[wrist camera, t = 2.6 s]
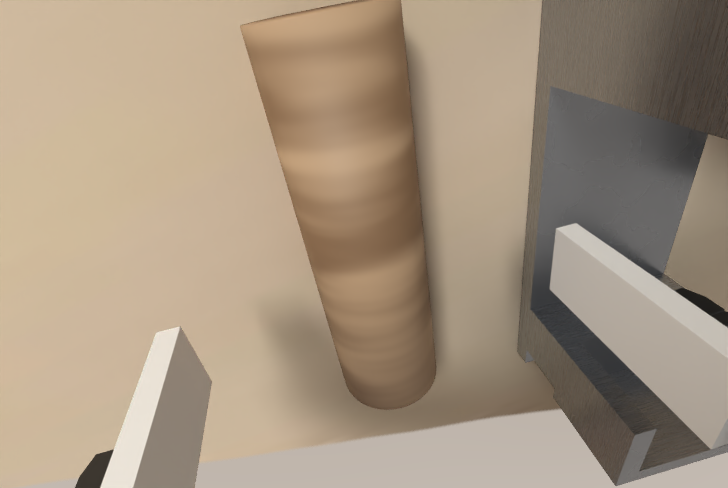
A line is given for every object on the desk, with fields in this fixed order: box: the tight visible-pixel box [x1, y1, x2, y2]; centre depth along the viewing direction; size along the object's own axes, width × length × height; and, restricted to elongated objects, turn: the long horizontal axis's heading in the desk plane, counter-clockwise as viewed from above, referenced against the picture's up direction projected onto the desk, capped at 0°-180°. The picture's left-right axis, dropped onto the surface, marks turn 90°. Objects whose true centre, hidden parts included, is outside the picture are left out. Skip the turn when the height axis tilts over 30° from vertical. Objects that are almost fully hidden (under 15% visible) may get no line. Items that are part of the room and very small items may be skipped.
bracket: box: [518, 0, 728, 486], centre depth 17 cm, size 22×8×9 cm, turn 9°
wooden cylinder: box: [240, 0, 436, 410], centre depth 17 cm, size 17×5×5 cm, turn 9°
